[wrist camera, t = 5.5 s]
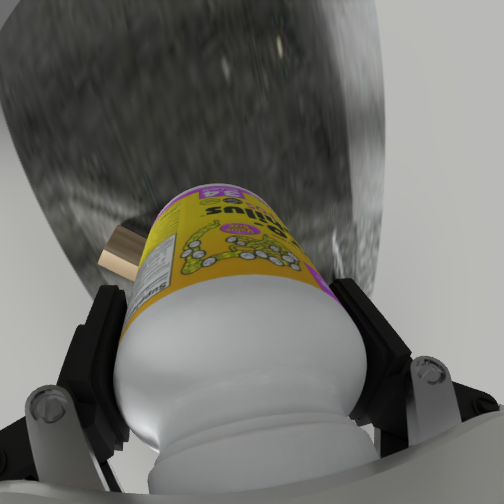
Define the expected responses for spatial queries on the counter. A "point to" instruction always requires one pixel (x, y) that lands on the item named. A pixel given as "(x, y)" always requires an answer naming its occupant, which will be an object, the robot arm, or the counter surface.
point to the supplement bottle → (237, 353)
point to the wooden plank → (123, 252)
